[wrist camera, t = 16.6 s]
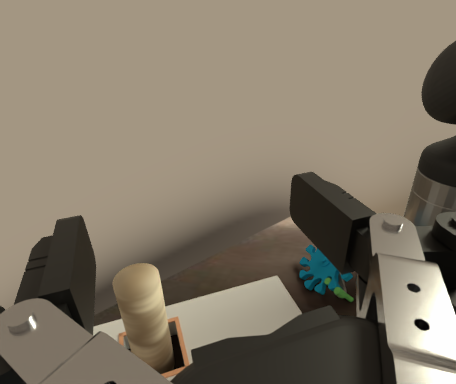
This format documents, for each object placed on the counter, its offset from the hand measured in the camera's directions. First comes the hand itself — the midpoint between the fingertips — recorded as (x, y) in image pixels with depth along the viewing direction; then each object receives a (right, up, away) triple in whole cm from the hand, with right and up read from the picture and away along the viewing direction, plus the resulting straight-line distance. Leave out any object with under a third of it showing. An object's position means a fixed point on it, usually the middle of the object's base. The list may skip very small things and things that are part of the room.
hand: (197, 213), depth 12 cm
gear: (+16, -13, +37) cm, 43 cm away
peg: (-7, -20, +26) cm, 34 cm away
